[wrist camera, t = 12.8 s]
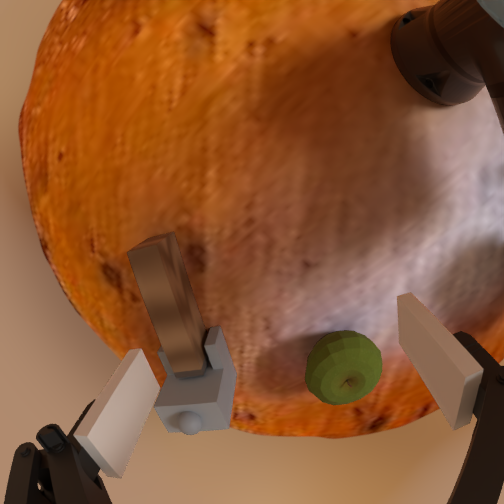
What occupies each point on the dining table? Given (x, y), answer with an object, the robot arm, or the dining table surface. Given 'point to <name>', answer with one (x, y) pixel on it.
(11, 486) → the robot arm
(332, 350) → the apple
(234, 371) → the grey two-prong block
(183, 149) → the dining table surface
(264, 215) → the dining table surface
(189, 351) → the rail
